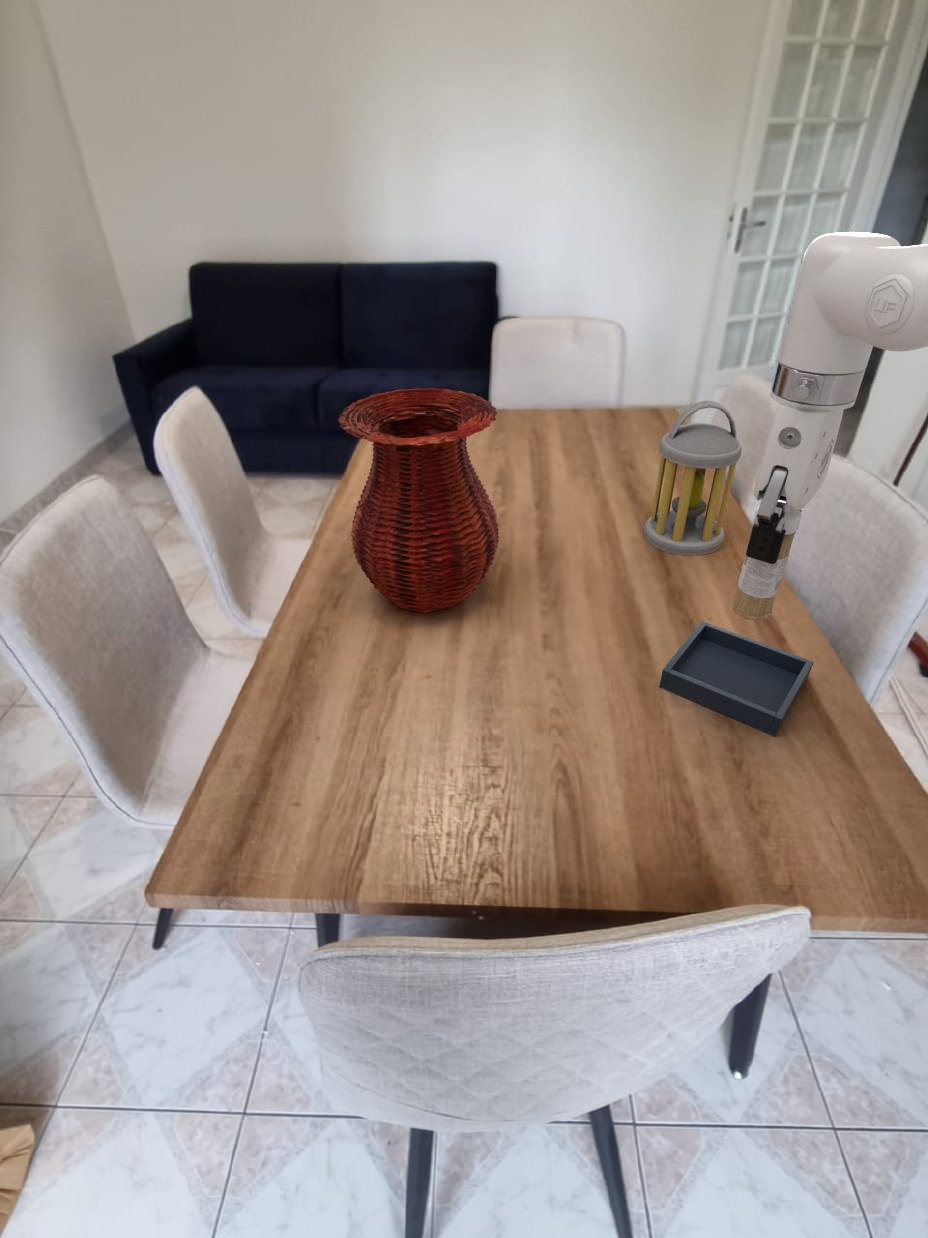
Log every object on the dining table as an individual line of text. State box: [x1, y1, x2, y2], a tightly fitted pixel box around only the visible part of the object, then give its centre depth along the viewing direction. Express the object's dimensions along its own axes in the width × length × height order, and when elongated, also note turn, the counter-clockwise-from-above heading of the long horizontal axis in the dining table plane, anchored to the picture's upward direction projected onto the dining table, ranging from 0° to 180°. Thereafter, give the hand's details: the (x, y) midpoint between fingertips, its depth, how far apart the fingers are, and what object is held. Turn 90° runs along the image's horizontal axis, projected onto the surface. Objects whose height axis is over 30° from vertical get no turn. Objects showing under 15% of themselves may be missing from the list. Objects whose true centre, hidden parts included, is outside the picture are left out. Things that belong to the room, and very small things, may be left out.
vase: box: [337, 387, 500, 613], centre depth 104 cm, size 23×24×30 cm
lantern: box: [643, 399, 743, 557], centre depth 117 cm, size 14×14×25 cm
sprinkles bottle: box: [731, 504, 803, 622], centre depth 76 cm, size 5×5×14 cm
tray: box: [659, 620, 814, 737], centre depth 92 cm, size 16×14×3 cm
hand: (769, 547), depth 75 cm, fingers closed on sprinkles bottle, 4 cm apart
